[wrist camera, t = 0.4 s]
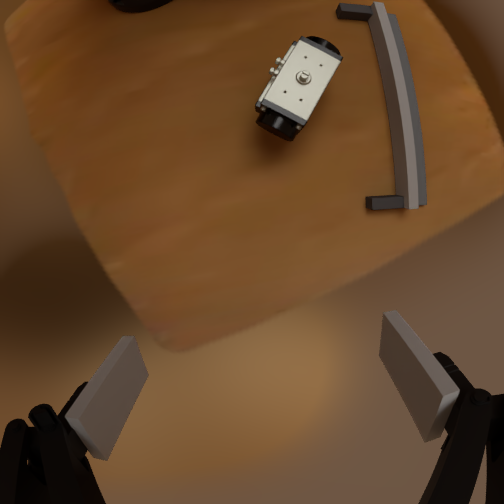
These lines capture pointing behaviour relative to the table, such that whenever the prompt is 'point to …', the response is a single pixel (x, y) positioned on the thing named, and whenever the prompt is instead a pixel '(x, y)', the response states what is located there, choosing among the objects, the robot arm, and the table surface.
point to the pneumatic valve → (296, 86)
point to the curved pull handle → (395, 107)
